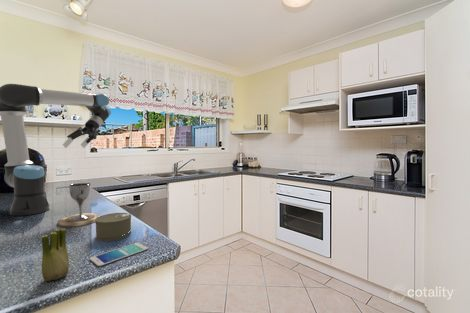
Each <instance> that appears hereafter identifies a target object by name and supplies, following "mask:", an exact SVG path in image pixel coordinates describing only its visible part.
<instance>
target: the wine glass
mask: <svg viewBox="0 0 470 313" xmlns="http://www.w3.org/2000/svg"><path fill="white" fill-rule="evenodd" d="M68 185H69V186H68V187H69V195H70V198H71V199H72V200H73V201H74V202H76V203H77V205H78V209H79V213H78V214H79V215H78V216H75V217H72V218H71V219H72V220H81V219H86V218H89V217H90V216H89V215H82V214H83V213H82V210H83V209H82V208H83V204H84V203H85V202H86V200H87V199H88V198H90V194H91V188H92V185H91V183H90V182H79V183H71V184H68Z"/></svg>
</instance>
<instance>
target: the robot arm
mask: <svg viewBox="0 0 470 313" xmlns="http://www.w3.org/2000/svg"><path fill="white" fill-rule="evenodd" d="M109 103H110V98H109V96H108V95H106V94H104V93H98V94H94V93H90V92H88V93H83V92H74V91H64V90H55V89H54V90H53V89H44V88H39V87H38V86H35V85H33V86H31V85H25V84H18V83H6V84H3V85H1V86H0V119H1V126H2V134H3V138H4V145H5V151H6V157H7V158H6V159H7V163H5V164H4V170H5V171H4V172H5V173H4V174H3V175H4V178H3V179H4V182H5V184H7V186H9V187H10V188H13V195H14V198H13V201H12V203H11V207H10V208H9V215H10V216H12V217H13V216H16V217H17V216H20V217H21V216H30V215H37V214H42V213H44V212H47V211H49V210H50V204H49V202H48V199H47V196H46V195H45V194H46V193H45V192H46V191H45V189H46V188H45V168H44V167H43V166H40V165H35V163H34V162H33V161H32V160H30V154H29V148H28V147H29V146H28V141H27V133H26V127H25V121H24V120H25V119H24V116H25V115H26V114H27V108H26V107H28V106H37V107H38V106H40V105H55V106H56V105H58V106H59V105H60V106H73V107H75V106H76V107H85V108H87V109H88V111H89V112H90V113H92V114H93V115H92V116H91V117H89V119H88V120H87V121H85V123H84V127H79V128H77V129H76V130H75V131H73V132H72V133H70V134H68V135H67V136H66V138H67V139H66V140H65V141H64V142H63V143H62V146H63V147H64V148H65V149H67V148H68V147H69V146H70V145H71V144H72V142H73V141H74V140H75V139H78V138H79V137H82V136H84V135H88V136H87V137H86V138H85V139H84V140H83V142H81V143H80V146H81V147H82V148H83V149H85V148H86V147H87V146H88V144H89V143H90V142H92V141H94V140H96V139H97V136H98V132H99V131H100V129H99V128H100V127H101V126H102V125H103V124H104V123H105V121H107V119H108V118H109V117H110V115H112V111H111V108H109V107H107V106H108V105H109Z"/></svg>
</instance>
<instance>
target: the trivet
mask: <svg viewBox="0 0 470 313" xmlns="http://www.w3.org/2000/svg"><path fill="white" fill-rule="evenodd" d="M79 214H80V213H78V214H72V215H68V216H65V217H61V218H60V219H58V221H57V226H59V227H62V228H67V227H68V228H70V227H74V228H75V227H82V226H86V225H91V224H94V223H96V222H95V219H96V218H98V216H99V215H98V214H99V213H94V212H91V213H87V212H86V213H85V212H84V213H82V215H89V216H90V217H89V218H86V219H81V220H72V219H71V218H72V217H75V216H78V215H79Z"/></svg>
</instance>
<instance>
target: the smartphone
mask: <svg viewBox="0 0 470 313" xmlns="http://www.w3.org/2000/svg"><path fill="white" fill-rule="evenodd" d="M148 250H149V247H147V246H146V245H144V244H141V243H140V242H135V243H131V244H129V245H126V246H121V247H119V248H116V249H113V250H110V251H107V252H103V253H100V254H97V255H94V256H91V257H90V258H89V262H91V263H92V264H94V265H95V266H96V267H97V268H101V267H104V266H108V265H110V264H113V263H116V262H119V261H121V260H123V259H127V258H129V257H131V256H134V255H137V254H140V253H143V252H146V251H148Z"/></svg>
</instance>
